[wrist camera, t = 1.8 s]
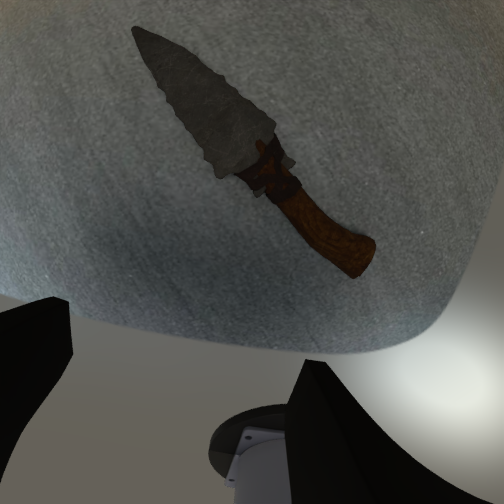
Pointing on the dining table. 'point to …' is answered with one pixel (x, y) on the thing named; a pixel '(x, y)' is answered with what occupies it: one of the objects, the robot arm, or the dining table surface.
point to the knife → (246, 147)
